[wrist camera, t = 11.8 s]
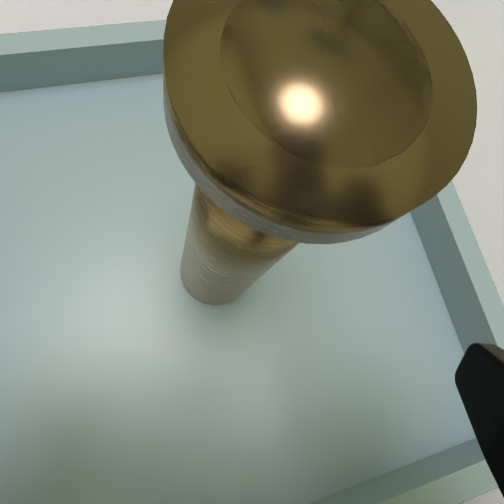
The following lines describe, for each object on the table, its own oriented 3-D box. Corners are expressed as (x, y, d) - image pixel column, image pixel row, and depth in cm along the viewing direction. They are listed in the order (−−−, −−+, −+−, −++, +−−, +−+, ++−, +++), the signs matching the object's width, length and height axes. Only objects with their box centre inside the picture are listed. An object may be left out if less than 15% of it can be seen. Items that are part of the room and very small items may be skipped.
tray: (507, 443, 19) (565, 457, 16) (-21, 658, 14) (-73, 733, 11) (353, 45, 24) (377, 1, 21) (-82, 94, 18) (-129, 45, 16)
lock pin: (230, 342, 17) (402, 291, 5) (141, 284, 17) (86, 81, 5) (282, 257, 19) (516, 54, 6) (201, 203, 18) (276, -114, 6)
